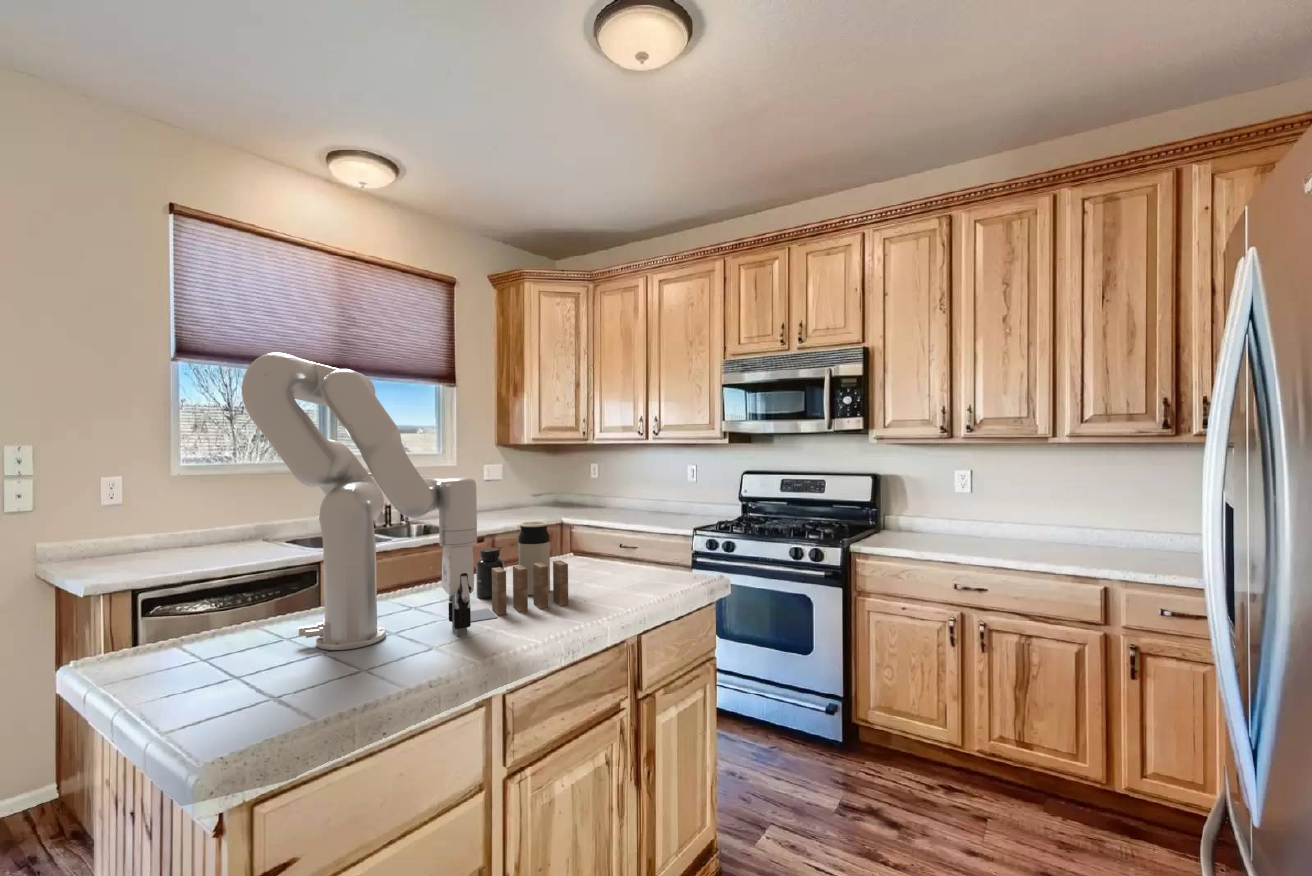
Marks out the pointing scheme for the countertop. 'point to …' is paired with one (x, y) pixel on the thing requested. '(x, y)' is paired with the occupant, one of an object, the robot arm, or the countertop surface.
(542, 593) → the domino
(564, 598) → the domino
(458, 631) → the domino
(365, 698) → the countertop surface
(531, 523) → the travel mug
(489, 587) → the supplement bottle
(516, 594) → the domino
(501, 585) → the domino
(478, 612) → the pad
